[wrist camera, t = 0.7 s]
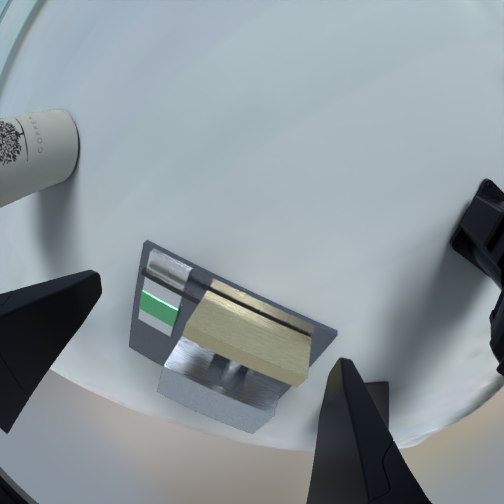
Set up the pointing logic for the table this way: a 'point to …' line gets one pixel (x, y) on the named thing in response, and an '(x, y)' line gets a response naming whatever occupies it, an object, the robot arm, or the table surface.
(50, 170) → the travel mug
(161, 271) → the frame
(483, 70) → the table surface
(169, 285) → the plate
